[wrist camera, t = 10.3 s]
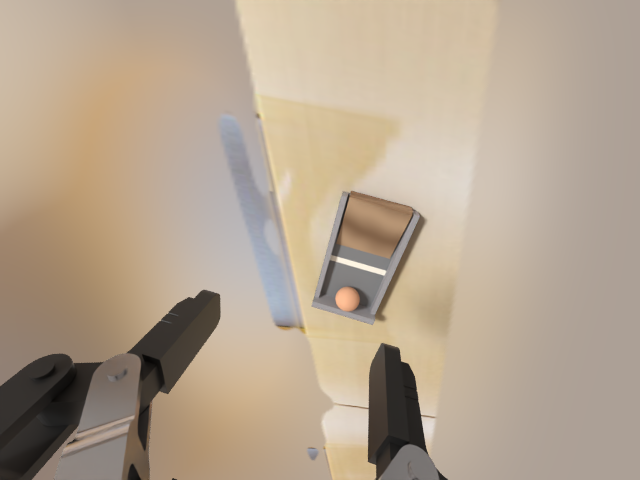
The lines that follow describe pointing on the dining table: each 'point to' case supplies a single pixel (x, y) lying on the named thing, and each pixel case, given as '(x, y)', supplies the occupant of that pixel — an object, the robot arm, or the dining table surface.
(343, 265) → the lane
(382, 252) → the ramp
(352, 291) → the ball
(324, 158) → the dining table surface
